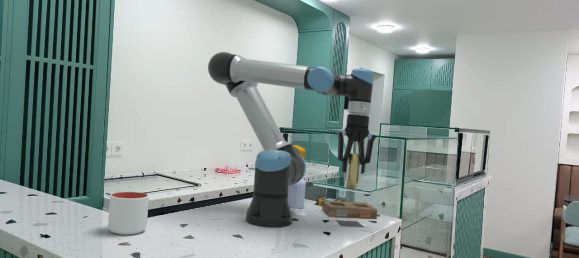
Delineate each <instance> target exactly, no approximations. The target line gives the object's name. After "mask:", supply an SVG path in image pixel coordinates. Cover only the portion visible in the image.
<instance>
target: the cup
mask: <svg viewBox="0 0 579 258" xmlns="http://www.w3.org/2000/svg"><path fill="white" fill-rule="evenodd" d="M149 198H150V195H149V194H148V193H143V192H139V191H137V192H136V191H121V192H114V193H111V194H110V196H109V206H108V207H109V208H108V222H107V228H108V230H109V232H111V233H112V234H115V233H116V234H115V235H124V236H125V235H126V236H130V235H136V234H140V233H143V232H144V231H145V230H146V229H147V228H148V227H147V226H148V216H149V215H148V214H149V213H148V211H149V203H150V202H149V200H150V199H149Z"/></svg>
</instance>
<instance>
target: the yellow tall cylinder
mask: <svg viewBox="0 0 579 258" xmlns="http://www.w3.org/2000/svg"><path fill="white" fill-rule="evenodd" d="M359 158H360V154H359V153H352V152H350V156H349V159H348V162H347V163H349V164H350V166H349V176H348V183H346V182H345V189H347V190H353V191H354V190H357V188H358V187H357V185H358V183H357V178H358V168H359V164H360V162H359Z"/></svg>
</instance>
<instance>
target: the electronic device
mask: <svg viewBox="0 0 579 258" xmlns="http://www.w3.org/2000/svg"><path fill="white" fill-rule="evenodd" d="M323 201H341V202H350V201H347V200H342V199H337V198H331V197H326V196H322V197H318V198H317V199H316V203H315V205H316V206H318V205H320V207H322V205H323Z"/></svg>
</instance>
